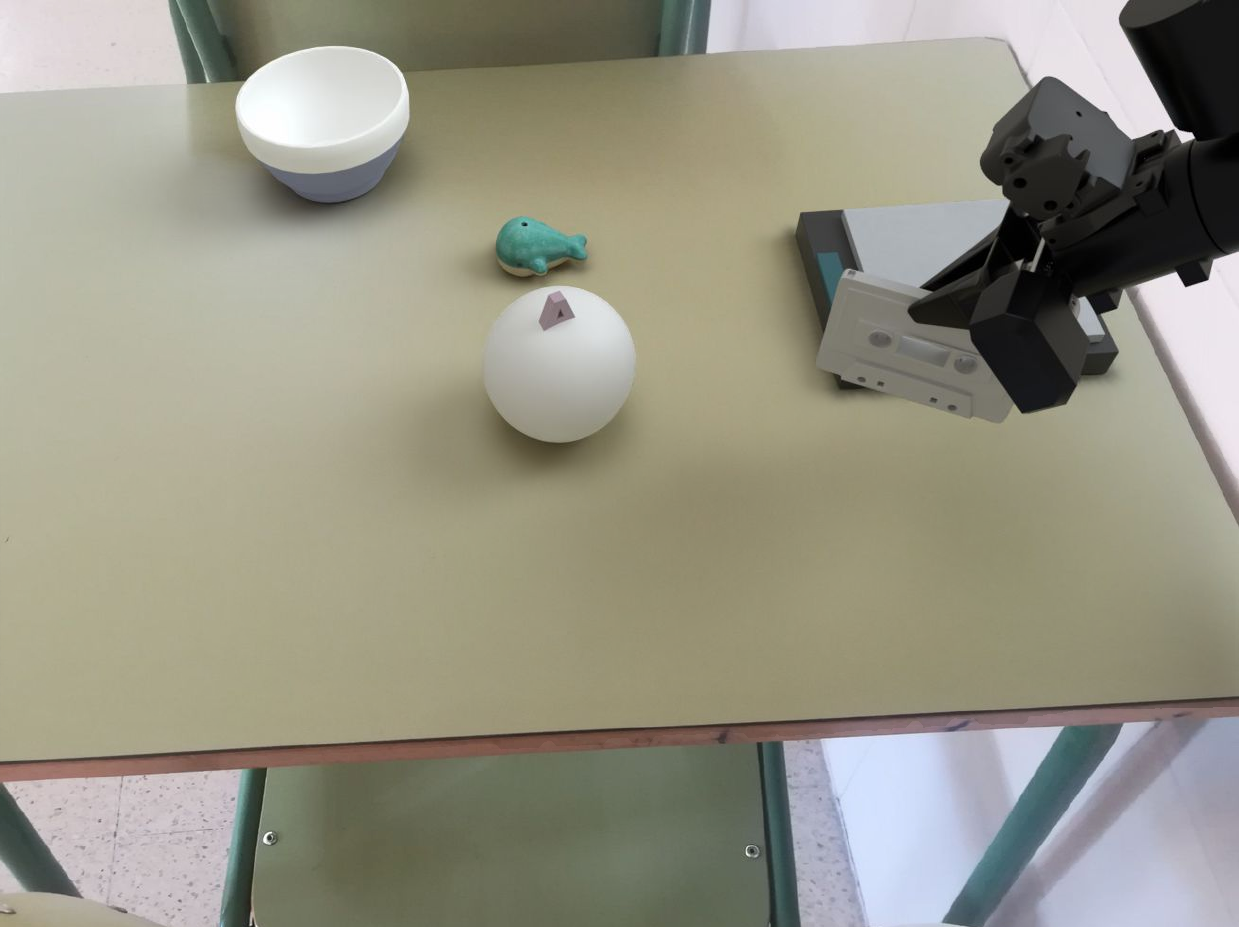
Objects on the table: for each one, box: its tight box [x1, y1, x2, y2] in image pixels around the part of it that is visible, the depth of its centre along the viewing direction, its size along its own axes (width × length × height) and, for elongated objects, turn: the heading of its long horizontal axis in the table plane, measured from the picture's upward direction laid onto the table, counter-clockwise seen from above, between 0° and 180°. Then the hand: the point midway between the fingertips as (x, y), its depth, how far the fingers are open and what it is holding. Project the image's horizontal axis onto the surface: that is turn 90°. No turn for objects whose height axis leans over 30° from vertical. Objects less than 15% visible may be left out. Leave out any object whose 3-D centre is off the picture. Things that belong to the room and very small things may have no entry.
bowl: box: [234, 45, 410, 204], centre depth 90 cm, size 14×14×8 cm
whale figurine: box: [495, 215, 588, 278], centre depth 84 cm, size 6×7×4 cm
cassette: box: [815, 269, 1015, 424], centre depth 64 cm, size 12×2×8 cm, turn 62°
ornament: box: [481, 285, 637, 444], centre depth 71 cm, size 10×10×12 cm
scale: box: [794, 198, 1120, 390], centre depth 79 cm, size 19×17×3 cm
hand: (914, 306), depth 62 cm, fingers closed on cassette, 1 cm apart
